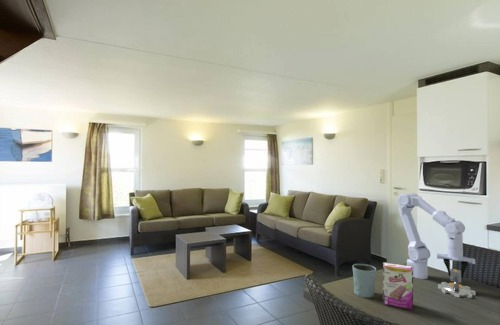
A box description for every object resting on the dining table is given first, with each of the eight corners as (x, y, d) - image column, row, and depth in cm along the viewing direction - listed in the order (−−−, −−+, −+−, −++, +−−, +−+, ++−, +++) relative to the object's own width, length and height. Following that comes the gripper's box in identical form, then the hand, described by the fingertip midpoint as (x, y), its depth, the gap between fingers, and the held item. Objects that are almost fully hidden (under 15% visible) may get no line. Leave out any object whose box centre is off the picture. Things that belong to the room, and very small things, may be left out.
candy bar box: (382, 305, 118) (382, 265, 119) (382, 300, 123) (382, 262, 123) (413, 310, 114) (413, 269, 114) (412, 305, 118) (412, 265, 119)
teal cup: (348, 293, 129) (348, 267, 129) (357, 287, 137) (357, 261, 137) (371, 300, 122) (371, 272, 123) (379, 293, 130) (379, 266, 130)
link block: (450, 280, 132) (450, 270, 132) (450, 278, 135) (450, 268, 136) (461, 282, 130) (461, 272, 130) (460, 280, 133) (460, 270, 133)
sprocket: (438, 293, 128) (437, 280, 128) (438, 282, 140) (437, 271, 140) (476, 300, 121) (476, 287, 121) (473, 289, 132) (473, 277, 132)
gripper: (436, 246, 134) (437, 275, 134) (475, 251, 126) (476, 282, 126) (436, 243, 140) (437, 271, 140) (474, 248, 132) (474, 277, 132)
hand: (455, 276), depth 133 cm, fingers closed on link block, 4 cm apart
